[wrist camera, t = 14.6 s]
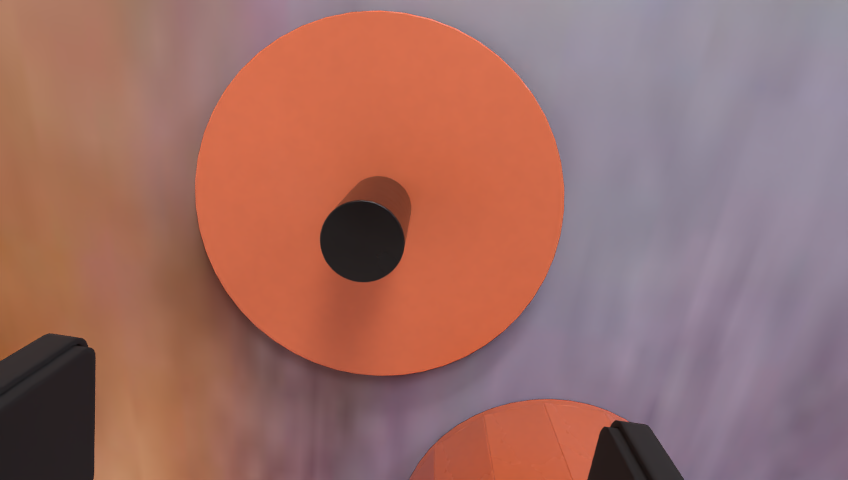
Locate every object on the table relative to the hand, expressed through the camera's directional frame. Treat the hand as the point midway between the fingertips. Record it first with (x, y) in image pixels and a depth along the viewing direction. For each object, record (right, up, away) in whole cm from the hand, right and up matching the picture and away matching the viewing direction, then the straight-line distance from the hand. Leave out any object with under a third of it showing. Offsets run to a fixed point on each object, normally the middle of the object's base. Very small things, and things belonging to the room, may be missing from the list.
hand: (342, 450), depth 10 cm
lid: (-1, +5, +16) cm, 17 cm away
